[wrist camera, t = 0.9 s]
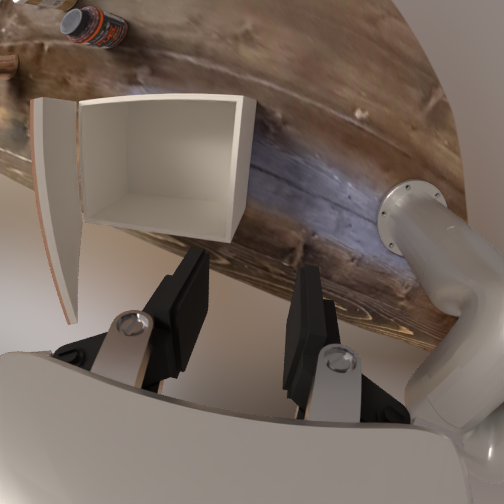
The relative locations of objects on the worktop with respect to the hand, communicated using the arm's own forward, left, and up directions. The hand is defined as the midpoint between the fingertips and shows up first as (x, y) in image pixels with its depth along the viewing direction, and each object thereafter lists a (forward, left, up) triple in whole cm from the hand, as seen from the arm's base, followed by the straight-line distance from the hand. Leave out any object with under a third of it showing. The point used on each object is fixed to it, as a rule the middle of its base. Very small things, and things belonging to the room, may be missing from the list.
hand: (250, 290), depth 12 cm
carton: (+14, 0, -31) cm, 34 cm away
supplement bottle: (+28, -20, -31) cm, 47 cm away
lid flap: (+19, 0, -11) cm, 22 cm away
